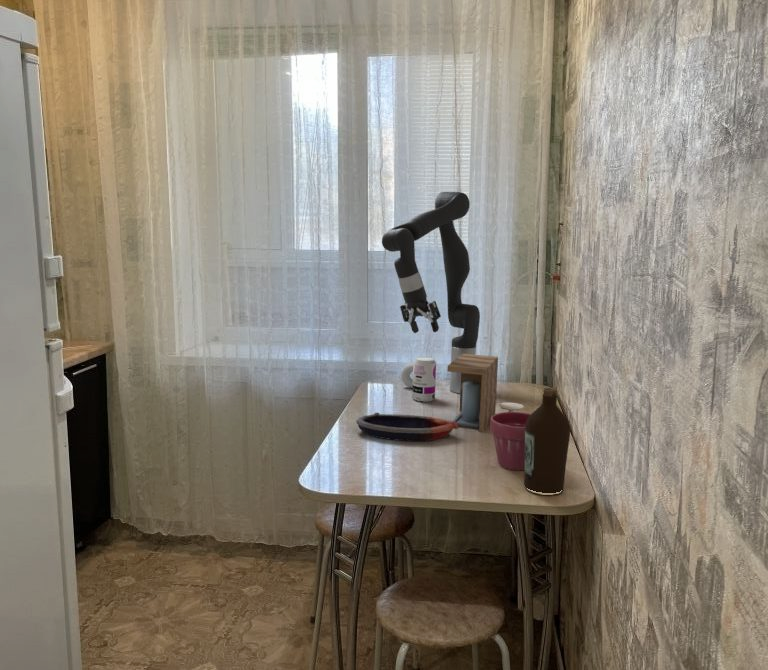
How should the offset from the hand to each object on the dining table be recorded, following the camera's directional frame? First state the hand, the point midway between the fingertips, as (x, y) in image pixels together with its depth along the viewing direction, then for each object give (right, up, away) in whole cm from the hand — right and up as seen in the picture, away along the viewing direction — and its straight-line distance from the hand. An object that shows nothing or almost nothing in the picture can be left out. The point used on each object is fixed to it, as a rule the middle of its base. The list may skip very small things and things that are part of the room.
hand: (426, 331), depth 231 cm
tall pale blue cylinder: (+14, -28, -9) cm, 33 cm away
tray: (+14, -29, -9) cm, 33 cm away
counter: (+14, -29, -8) cm, 33 cm away
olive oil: (+25, -39, -63) cm, 78 cm away
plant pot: (+21, -36, -47) cm, 63 cm away
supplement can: (0, -25, +17) cm, 30 cm away
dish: (-7, -32, -24) cm, 40 cm away
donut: (-3, -22, +32) cm, 39 cm away
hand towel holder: (+28, -30, -9) cm, 42 cm away
